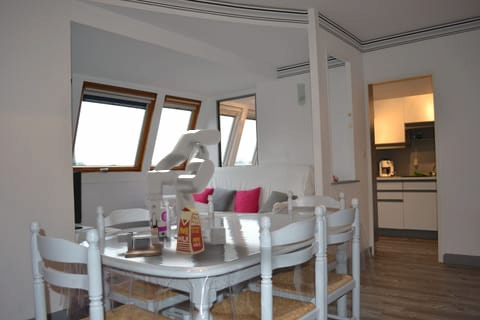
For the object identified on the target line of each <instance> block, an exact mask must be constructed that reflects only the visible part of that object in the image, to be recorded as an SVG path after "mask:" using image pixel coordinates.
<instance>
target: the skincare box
mask: <svg viewBox="0 0 480 320" xmlns="http://www.w3.org/2000/svg"><path fill="white" fill-rule="evenodd" d="M209 231H210V232H209V235H210V236H209V237H210V244H212V245H213V246H216V245H217V246H219V245H226V244H227V236H226V235H227V234H226V233H227V232H226V231H227V230H226V227H224V226H222V225H220V226H210V227H209Z"/></svg>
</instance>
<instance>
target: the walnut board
mask: <svg viewBox="0 0 480 320" xmlns="http://www.w3.org/2000/svg"><path fill="white" fill-rule="evenodd" d="M163 247H164V241H158V244H152V242H150V247H149V249H142V250H134V243H133V248H132V250H128V249H127V250H126V252H125V254H124V258H137V257H138V258H139V257H152V256H162V253H163Z"/></svg>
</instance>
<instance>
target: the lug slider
mask: <svg viewBox="0 0 480 320" xmlns="http://www.w3.org/2000/svg"><path fill="white" fill-rule="evenodd" d="M156 234H157V237H156V238H151V243H152V244H158V242H159V238H158V228H152V229H151V228H150V235H156Z"/></svg>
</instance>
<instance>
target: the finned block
mask: <svg viewBox="0 0 480 320" xmlns="http://www.w3.org/2000/svg"><path fill="white" fill-rule="evenodd" d="M150 243H151V238H140V239H133V244H134V250H142V249H149V247H150Z"/></svg>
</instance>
